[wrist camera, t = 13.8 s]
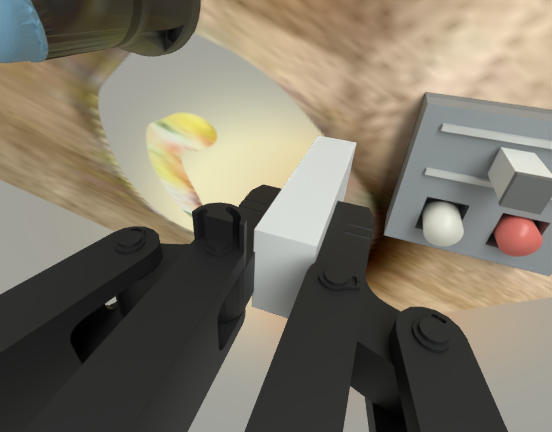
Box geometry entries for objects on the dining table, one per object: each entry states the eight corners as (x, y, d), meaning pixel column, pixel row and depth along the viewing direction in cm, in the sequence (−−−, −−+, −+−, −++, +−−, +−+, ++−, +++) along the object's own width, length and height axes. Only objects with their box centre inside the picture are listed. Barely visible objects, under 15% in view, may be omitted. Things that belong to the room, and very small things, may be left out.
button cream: (417, 222, 41) (418, 241, 37) (428, 195, 38) (430, 213, 35) (451, 230, 40) (455, 250, 36) (464, 203, 37) (469, 222, 34)
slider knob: (485, 174, 34) (499, 206, 29) (500, 145, 32) (517, 174, 27) (519, 181, 33) (540, 214, 28) (536, 152, 31) (561, 182, 26)
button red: (484, 231, 40) (491, 251, 37) (499, 204, 38) (508, 223, 35) (521, 239, 39) (530, 260, 36) (538, 212, 37) (550, 232, 34)
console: (386, 215, 46) (383, 237, 42) (425, 92, 36) (428, 104, 32) (536, 250, 42) (551, 279, 37) (627, 120, 32) (662, 140, 27)
